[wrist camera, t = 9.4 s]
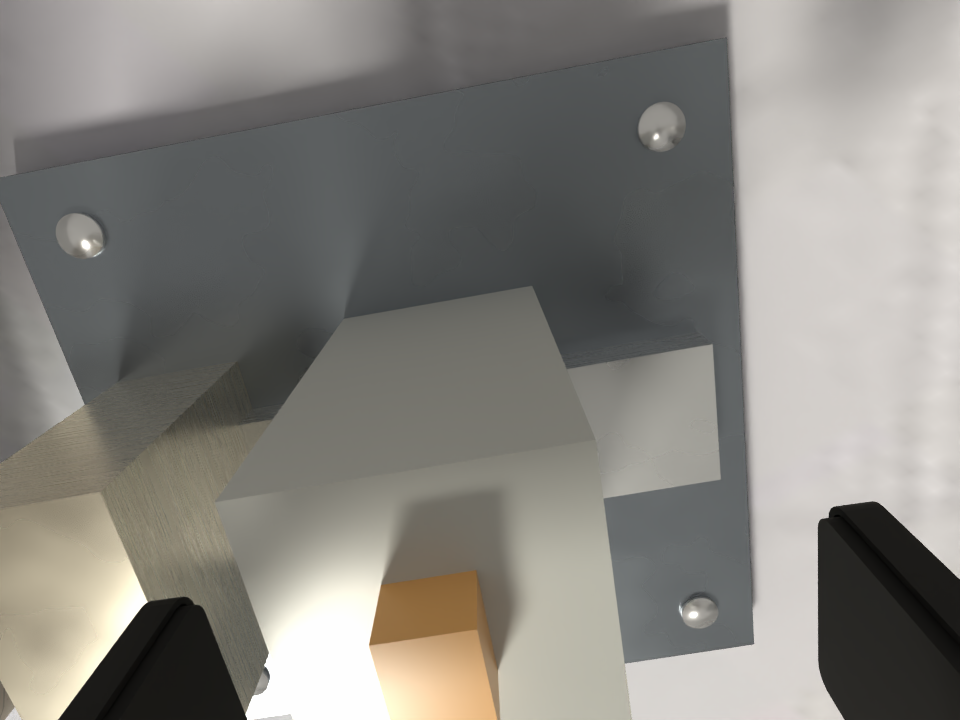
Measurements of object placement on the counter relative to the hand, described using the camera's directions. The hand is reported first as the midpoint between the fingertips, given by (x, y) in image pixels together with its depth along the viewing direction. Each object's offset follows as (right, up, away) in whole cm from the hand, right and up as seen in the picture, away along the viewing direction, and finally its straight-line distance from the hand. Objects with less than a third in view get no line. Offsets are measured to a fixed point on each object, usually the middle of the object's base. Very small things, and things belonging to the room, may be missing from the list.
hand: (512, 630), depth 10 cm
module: (-1, +2, +6) cm, 7 cm away
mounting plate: (-2, +2, +7) cm, 8 cm away
